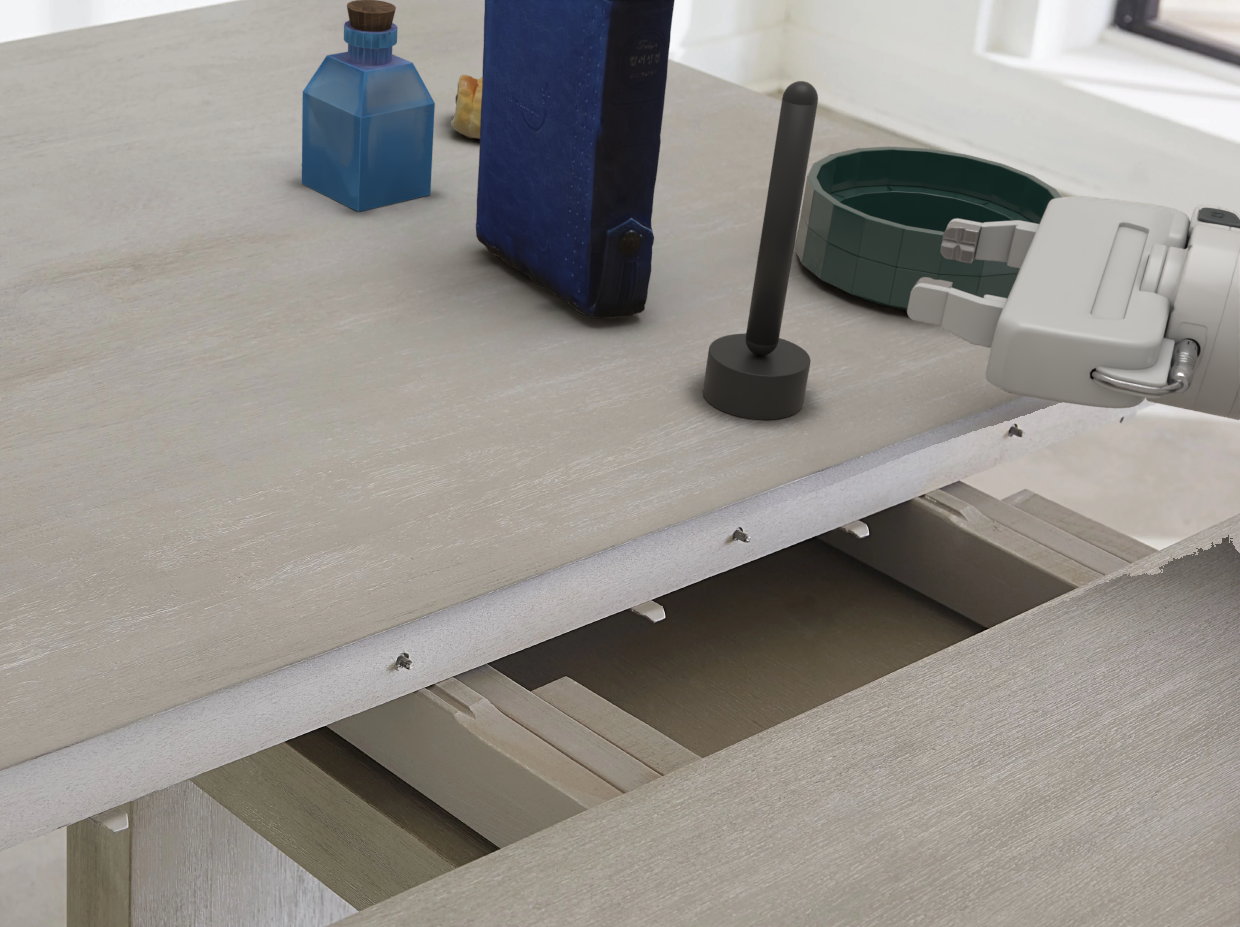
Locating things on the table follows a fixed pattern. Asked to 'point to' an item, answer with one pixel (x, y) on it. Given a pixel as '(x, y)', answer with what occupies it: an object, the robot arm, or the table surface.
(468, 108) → the pastry
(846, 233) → the bowl
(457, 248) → the table surface
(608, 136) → the book
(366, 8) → the perfume bottle
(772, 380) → the black stand
